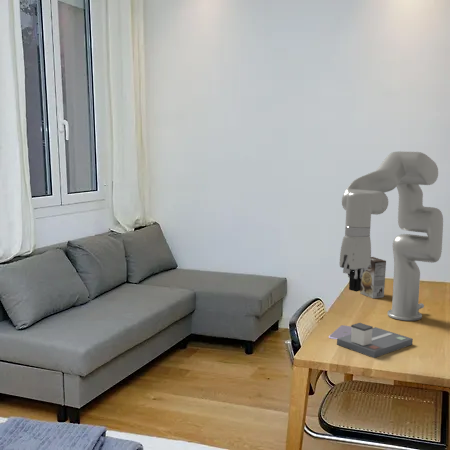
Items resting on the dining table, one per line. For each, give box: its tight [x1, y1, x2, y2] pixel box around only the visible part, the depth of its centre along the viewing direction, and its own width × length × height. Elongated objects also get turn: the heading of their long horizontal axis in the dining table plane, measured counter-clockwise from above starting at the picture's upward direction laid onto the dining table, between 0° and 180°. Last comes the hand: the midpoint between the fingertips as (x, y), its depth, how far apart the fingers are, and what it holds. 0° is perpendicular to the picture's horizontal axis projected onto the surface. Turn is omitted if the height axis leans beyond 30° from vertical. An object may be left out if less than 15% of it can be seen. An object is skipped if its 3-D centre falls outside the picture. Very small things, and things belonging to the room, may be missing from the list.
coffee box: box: [359, 256, 387, 299], centre depth 256 cm, size 9×6×16 cm
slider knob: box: [350, 322, 374, 346], centre depth 190 cm, size 4×5×6 cm
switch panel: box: [336, 326, 414, 359], centre depth 195 cm, size 20×15×2 cm
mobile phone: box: [328, 324, 352, 340], centre depth 206 cm, size 8×1×15 cm
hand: (354, 290), depth 185 cm, fingers closed
